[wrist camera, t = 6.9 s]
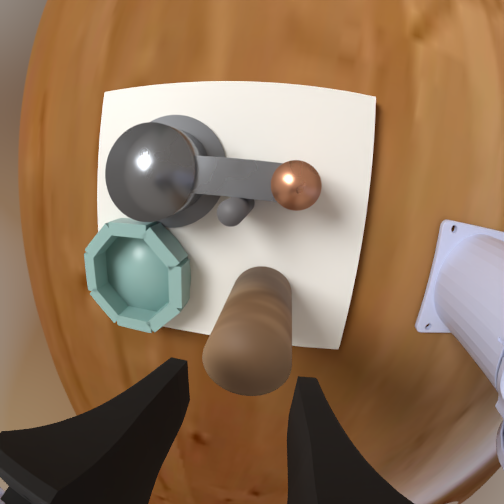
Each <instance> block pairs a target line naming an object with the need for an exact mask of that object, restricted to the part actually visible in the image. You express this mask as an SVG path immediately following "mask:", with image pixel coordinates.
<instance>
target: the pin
mask: <svg viewBox="0 0 504 504" xmlns="http://www.w3.org/2000/svg"><path fill="white" fill-rule="evenodd" d="M202 358H203V364H204V368H205V370H206V372H207V373H208V375H209V376H210V378H211V379H212V380H213V381H214V382H215V383H216V384H218V385H219V386H220V387H222V388H224V389H226V390H228V391H230V392H232V393H236V394H240V395H246V396H257V395H263V394H267V393H270V392H272V391H274V390H276V389H278V388H279V387H280V386H282V385H283V384H284V383H285V382H286V380H287V379H288V377H289V375H290V372H291V367H292V290H291V286H290V284H289V282H288V280H287V279H286V277H285V276H284V275H283V274H282V273H280V272H279V271H277V270H275V269H273V268H270V267H265V266H257V267H253V268H250V269H248V270H246V271H244V272H243V273H242V274H240V276H239V277H238V278H237V280H236V281H235V283H234V286H233V288H232V290H231V292H230V294H229V296H228V298H227V300H226V302H225V305H224V307H223V309H222V311H221V313H220V315H219V317H218V319H217V321H216V324H215V326H214V328H213V330H212V332H211V334H210V336H209V338H208V340H207V343H206V345H205V347H204V350H203V356H202Z"/></svg>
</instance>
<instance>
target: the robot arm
mask: <svg viewBox="0 0 504 504" xmlns="http://www.w3.org/2000/svg"><path fill="white" fill-rule="evenodd" d="M453 225H454V231H453V232H452V231H451V228H452V226H453ZM427 324H429V326H427V327H426V325H427ZM415 328H416V330H417V331H418V332H437V333H452V334H453V335H454V336H455V337H456V338H457V340H458V341H459V342H460V343H461V345H462V346H463V347H464V348H465V349H466V351H467V352H468V353H469V354H470V356H471V357H472V358H473V360H474V361H475V362H476V363H477V365H478V366H479V367H480V369H481V370H482V371H483V373H484V374H485V375H486V377H487V378H488V379H489V381H490V382H491V383H492V385H493V386H494V388H495V389H496V390H497V392H498V394H499V397H498V401H497V403H496V405H495V407H496V409H497V410H498V412H499V413H500V415H501V416H502V418H503V421H502V423H501V424H500V427H499V430H498V432H497V438H496V450H497V455H498V459H499V462H500V464H501V466H502V468H503V470H504V232H501V231H497V230H493V229H489V228H484V227H480V226H476V225H471V224H466V223H462V222H457V221H452V220H444V221H443V222H442V223H441V225H440V230H439V236H438V241H437V246H436V250H435V255H434V259H433V264H432V268H431V272H430V276H429V280H428V284H427V287H426V291H425V295H424V298H423V302H422V305H421V308H420V311H419V315H418V318H417V321H416V324H415ZM189 401H190V396H189V382H188V365H187V361H186V360H181V359H176V358H170V359H168V360H167V361H166V362H164V363H163V364H162V365H160V366H159V367H158V368H157V369H155V370H154V371H153V372H151V373H150V374H149V375H147V376H146V377H145V378H143V379H142V380H140V381H139V382H138V383H136V384H135V385H133V386H132V387H130V388H129V389H127V390H126V391H124V392H123V393H121V394H119V395H118V396H116V397H115V398H113V399H111V400H110V401H108V402H106V403H104V404H102V405H100V406H98V407H96V408H94V409H92V410H90V411H88V412H85V413H83V414H80V415H78V416H75V417H72V418H69V419H66V420H64V421H61V422H57V423H54V424H50V425H46V426H41V427H36V428H31V429H23V430H14V431H2V432H1V433H0V477H1V478H2V479H3V480H4V481H5V482H6V483H7V484H8V485H9V487H8V489H7V490H6V491H4V490H3V489H2V488H1V487H0V504H148V502H149V499H150V496H151V493H152V490H153V487H154V484H155V481H156V478H157V475H158V473H159V470H160V468H161V466H162V464H163V462H164V460H165V458H166V456H167V454H168V452H169V449H170V447H171V445H172V443H173V441H174V439H175V437H176V435H177V433H178V431H179V429H180V427H181V425H182V422H183V420H184V417H185V414H186V410H187V407H188V404H189ZM287 460H288V501H287V504H414V503H412V502H411V501H410V500H408V499H407V498H406V497H404V496H403V495H402V494H400V493H399V492H398V491H397V490H396V489H394V488H393V487H392V486H391V485H390V484H389V483H388V482H387V481H386V480H385V479H383V478H382V477H381V476H380V475H379V474H378V473H377V472H376V471H375V470H374V469H373V468H372V466H371V465H370V464H369V463H368V462H367V461H366V460H365V458H364V457H363V456H362V455H361V454H360V452H359V451H358V450H357V449H356V447H355V446H354V445H353V443H352V442H351V440H350V439H349V437H348V436H347V434H346V433H345V431H344V430H343V428H342V427H341V425H340V423H339V422H338V420H337V418H336V417H335V415H334V413H333V411H332V410H331V408H330V406H329V404H328V402H327V400H326V398H325V396H324V394H323V392H322V389H321V387H320V385H319V382H318V380H317V379H316V378H310V377H298V379H297V383H296V388H295V392H294V396H293V400H292V404H291V408H290V412H289V420H288V431H287Z"/></svg>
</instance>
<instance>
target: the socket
mask: <svg viewBox="0 0 504 504" xmlns="http://www.w3.org/2000/svg"><path fill="white" fill-rule="evenodd" d="M85 251H86V253H84V258H85V268H86V277H87V285H88V290H89V291H92V292H91V293H90V295H91V296H92V297H93V298H94V300H95V301H96V302H97V303H98V304H99V306H100V307H101V308H102V309H103V310H104V312H105V313H106V314H107V315H108V316H109V317H110V319H111V320H112V321H113V322H114V323H115V322H116V321H117V324H118V325H119V326H123V327H127V328H131V329H136V330H140V331H144V332H149V333H152V332H153V331H154V332H156V331H157V330H158V329H160V328H161V327H162V326H164V325H165V324H166V323H167V322H169V321H170V320H171V319H172V318H174V317H175V316H176V315H178V314H179V313H180V312H181V311H182V309H183V308H184V307H185V305H186V304H187V303H188V300H189V299H190V285H191V270H190V259H188V258H187V256H188V254H187V253H186V252H185V251H184V249H183V247H182V245H181V244H180V242H179V241H178V240H177V238H176V237H175V236H174V235H173V234H172V233H171V232H170V231H169V230H167V229H166V228H165V227H164V226H163V225H162V224H161V223H158V224H157V221H155V222H141V221H136V220H133V219H131V218H119V219H116V220H113V221H110V222H108V223H105V225H104V226H103V227H102V228H101V230H100V231H99V232H98V233H97V235H96V236H95V237H94V238H93V240H92V241H91V242H90V244H89V245H88V246H87V248H86V249H85Z"/></svg>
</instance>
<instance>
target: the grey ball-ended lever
mask: <svg viewBox="0 0 504 504" xmlns="http://www.w3.org/2000/svg"><path fill="white" fill-rule="evenodd" d="M105 180H106V186H107V190H108V193H109V195H110V198H111V200H112V201H113V203H114V204H115V206H116V207H117V208H118V209H119V210H120V211H121V212H122V213H123V214H124V215H126V216H127V217H129V218H131V219H133V220H136V221H141V222H155V221H159V220H162V219H164V218H166V217H169V216H171V215H174V214H176V213H178V212H181V211H183V210H186V209H188V208H189V207H191V206H192V205H194V204H195V203H196V202H197V201H198V200H199V199H200V197H201V196H202V195H203V194H207V195H218V196H228V197H238V198H246V199H255V200H263V201H272V202H278V203H279V204H280V205H281V206H283V207H284V208H286V209H289V210H295V211H298V210H304V209H307V208H309V207H310V206H312V205H313V204H314V203H315V202H316V201H317V199H318V198H319V196H320V193H321V188H322V183H321V178H320V176H319V174H318V172H317V170H316V169H315V168H314V167H313V166H312V165H310V164H309V163H307V162H304V161H300V160H292V161H288V162H285V163H277V162H268V161H259V160H248V159H237V158H225V157H211V156H208V155H207V152H206V150H205V148H204V146H203V145H202V144H201V142H200V141H199V140H198V139H197V138H196V137H194V136H193V135H192V134H190V133H188V132H185V131H183V130H180V129H177V128H174V127H171V126H168V125H165V124H162V123H157V122H146V123H141V124H138V125H135V126H133V127H131V128H130V129H128V130H127V131H125V132H124V133H123V134H122V135H121V136H120V137H119V138H118V139H117V140H116V142H115V143H114V145H113V146H112V148H111V150H110V152H109V155H108V158H107V162H106V168H105Z"/></svg>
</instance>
